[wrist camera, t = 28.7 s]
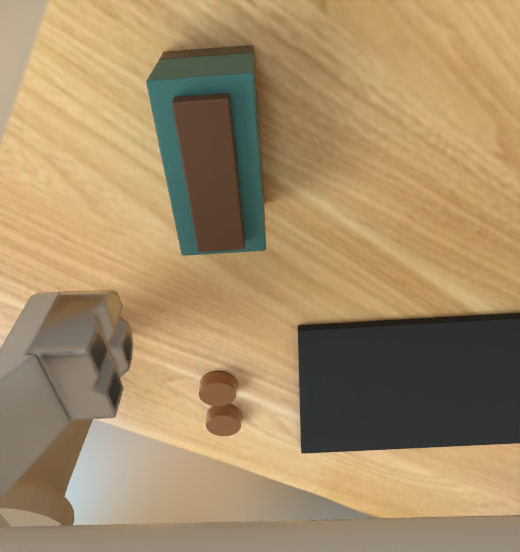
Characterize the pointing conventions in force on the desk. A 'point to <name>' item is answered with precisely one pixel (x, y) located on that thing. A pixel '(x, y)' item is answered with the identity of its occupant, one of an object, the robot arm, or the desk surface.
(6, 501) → the handle
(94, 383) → the robot arm
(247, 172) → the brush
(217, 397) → the brown short cylinder
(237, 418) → the grit
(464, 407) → the mat
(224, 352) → the desk surface
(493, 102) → the desk surface
